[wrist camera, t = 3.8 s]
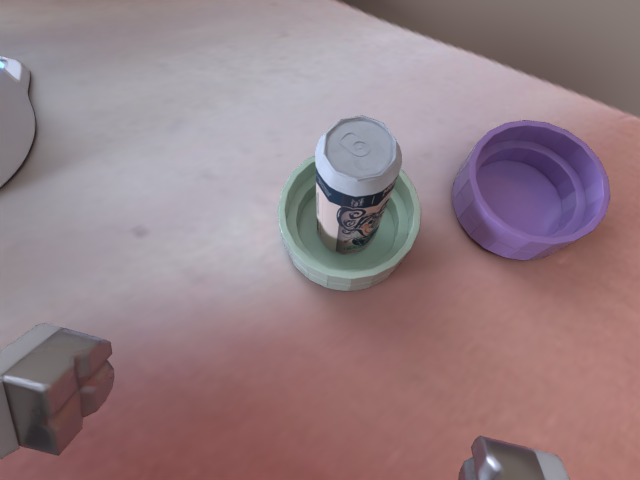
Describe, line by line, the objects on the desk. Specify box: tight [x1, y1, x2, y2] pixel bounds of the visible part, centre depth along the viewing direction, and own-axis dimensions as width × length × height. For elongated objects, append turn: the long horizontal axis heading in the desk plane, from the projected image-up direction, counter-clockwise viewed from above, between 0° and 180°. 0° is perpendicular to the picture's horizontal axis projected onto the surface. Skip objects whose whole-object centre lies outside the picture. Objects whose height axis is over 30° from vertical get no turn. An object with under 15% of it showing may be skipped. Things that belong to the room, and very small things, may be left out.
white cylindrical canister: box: [315, 115, 402, 255], centre depth 26 cm, size 5×5×12 cm
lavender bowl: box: [452, 120, 610, 260], centre depth 31 cm, size 10×10×4 cm
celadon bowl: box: [278, 156, 421, 291], centre depth 30 cm, size 10×10×4 cm
